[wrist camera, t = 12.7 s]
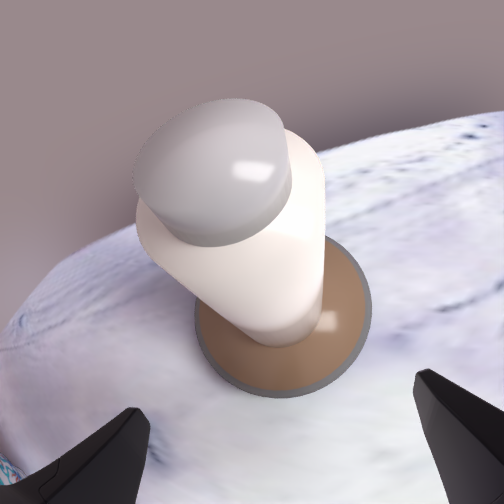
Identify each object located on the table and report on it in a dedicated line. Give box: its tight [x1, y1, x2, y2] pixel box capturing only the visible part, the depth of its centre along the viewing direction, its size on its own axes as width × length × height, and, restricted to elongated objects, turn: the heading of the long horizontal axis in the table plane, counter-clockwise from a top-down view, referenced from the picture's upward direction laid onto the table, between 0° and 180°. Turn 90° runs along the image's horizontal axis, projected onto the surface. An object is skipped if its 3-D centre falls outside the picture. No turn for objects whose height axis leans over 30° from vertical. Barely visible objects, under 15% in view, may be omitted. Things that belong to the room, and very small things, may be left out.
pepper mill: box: [133, 99, 325, 348], centre depth 12 cm, size 5×5×13 cm
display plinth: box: [195, 236, 372, 398], centre depth 18 cm, size 12×12×2 cm
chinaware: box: [0, 453, 27, 485], centre depth 10 cm, size 15×15×8 cm
